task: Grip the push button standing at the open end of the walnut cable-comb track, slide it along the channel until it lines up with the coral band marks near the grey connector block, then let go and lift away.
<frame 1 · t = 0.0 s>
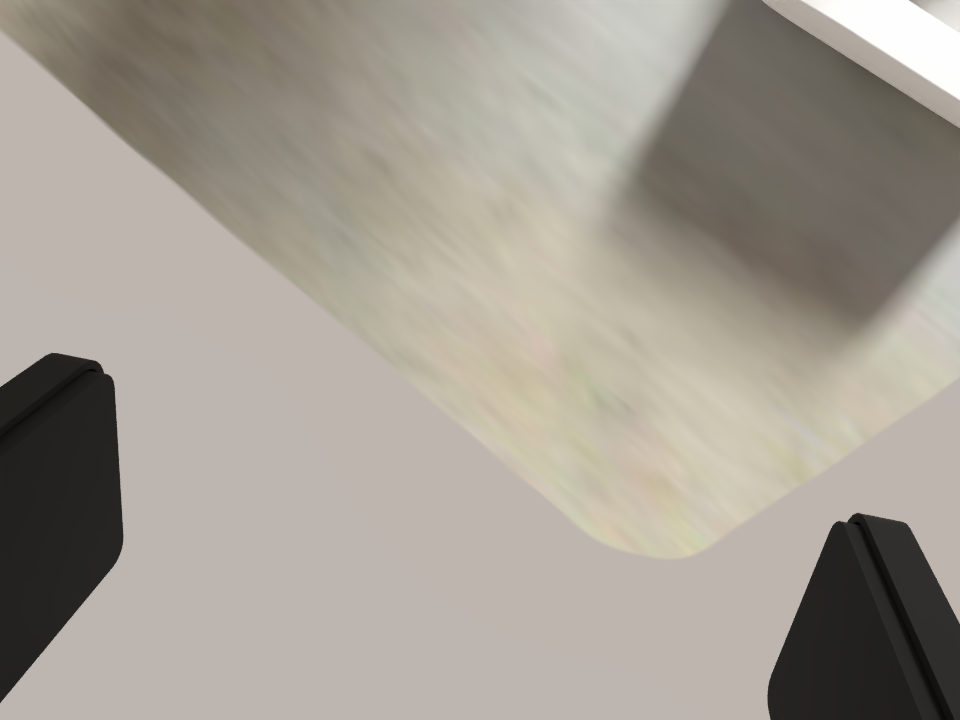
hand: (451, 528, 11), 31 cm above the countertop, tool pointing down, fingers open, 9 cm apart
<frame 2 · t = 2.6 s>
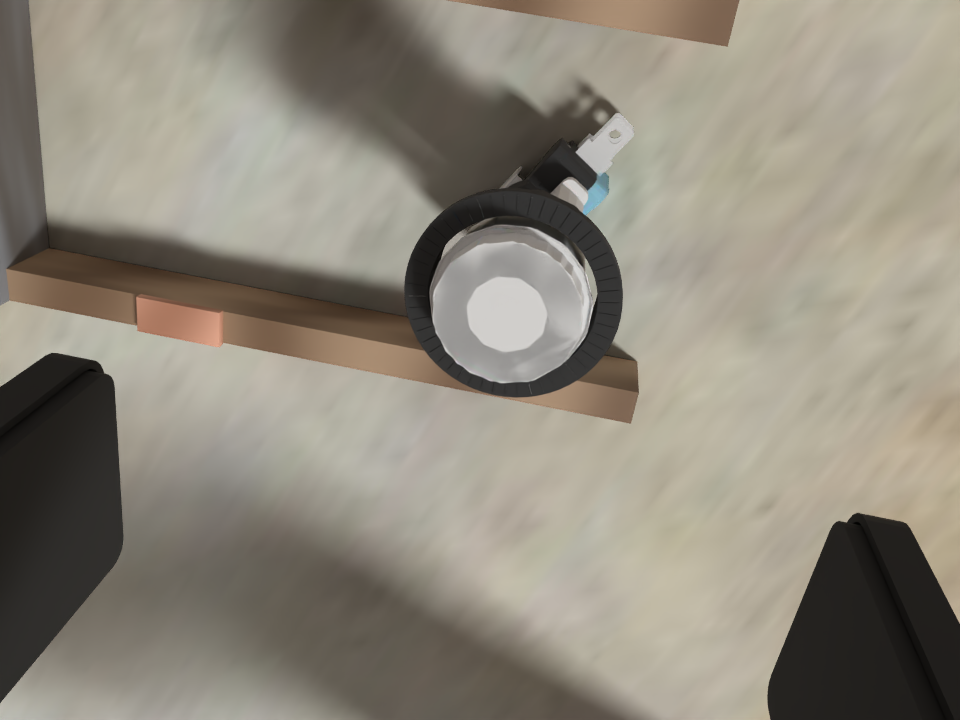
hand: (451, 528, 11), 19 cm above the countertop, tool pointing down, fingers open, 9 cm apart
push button: (555, 191, 29), on the countertop
comb track: (318, 150, 29), on the countertop
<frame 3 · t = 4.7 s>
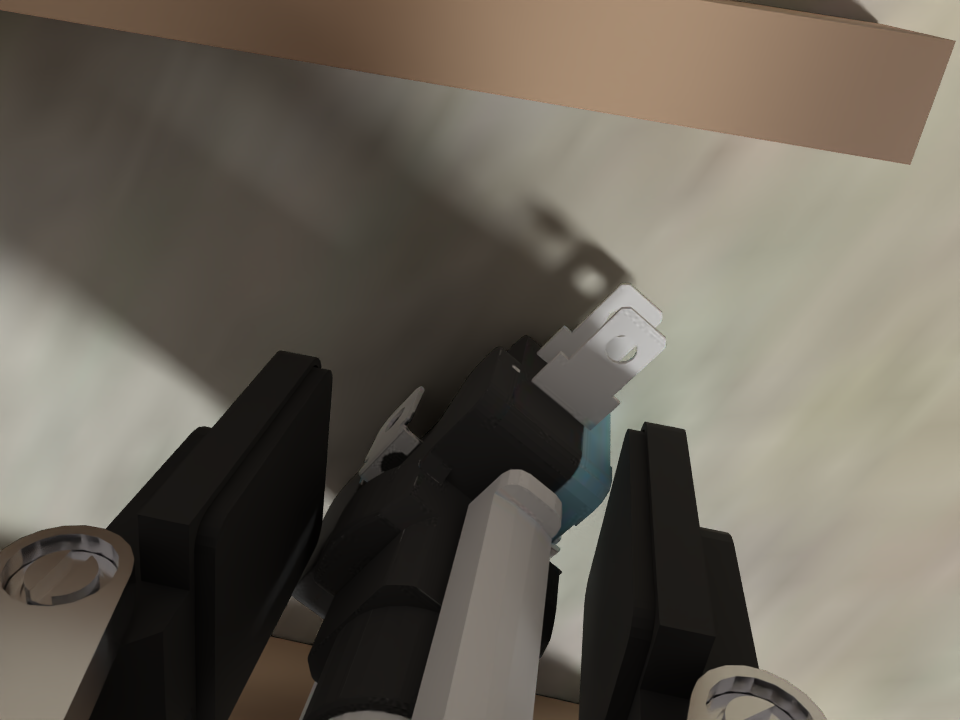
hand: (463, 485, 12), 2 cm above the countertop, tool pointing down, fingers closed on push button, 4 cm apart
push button: (501, 425, 14), on the countertop, touching gripper
comb track: (1, 331, 14), on the countertop
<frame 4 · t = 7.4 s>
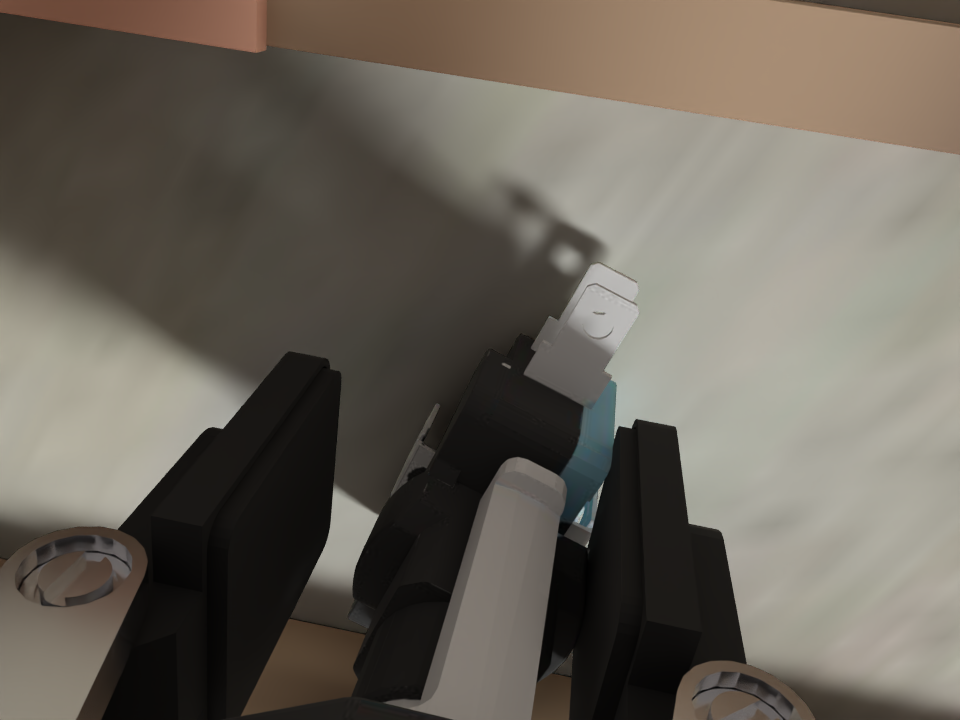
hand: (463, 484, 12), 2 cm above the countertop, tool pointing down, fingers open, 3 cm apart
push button: (524, 424, 14), on the countertop, touching gripper
comb track: (447, 400, 14), on the countertop
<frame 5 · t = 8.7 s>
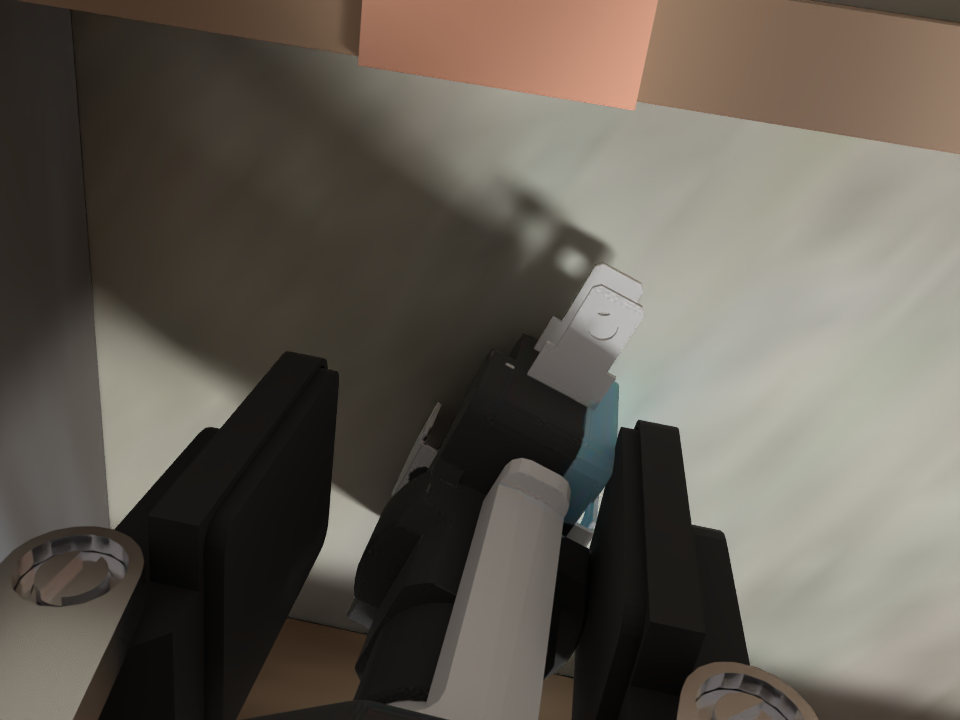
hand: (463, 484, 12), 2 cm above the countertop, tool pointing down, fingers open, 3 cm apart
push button: (525, 424, 14), on the countertop, touching gripper
comb track: (696, 447, 14), on the countertop
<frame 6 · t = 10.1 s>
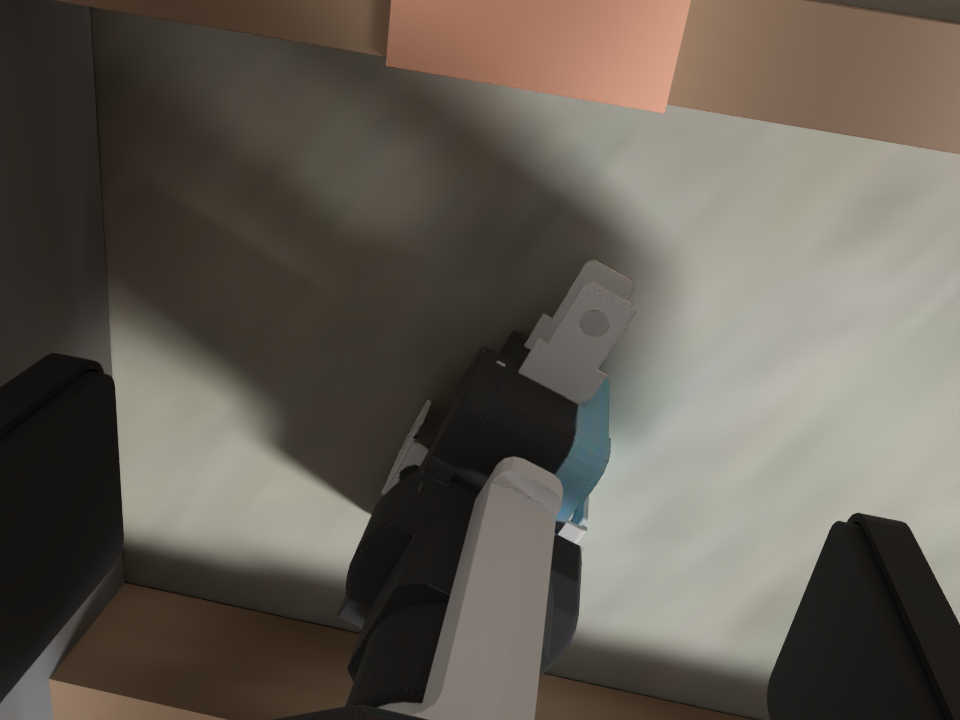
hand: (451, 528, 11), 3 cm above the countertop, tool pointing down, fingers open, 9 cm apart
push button: (515, 421, 14), on the countertop
comb track: (714, 452, 14), on the countertop
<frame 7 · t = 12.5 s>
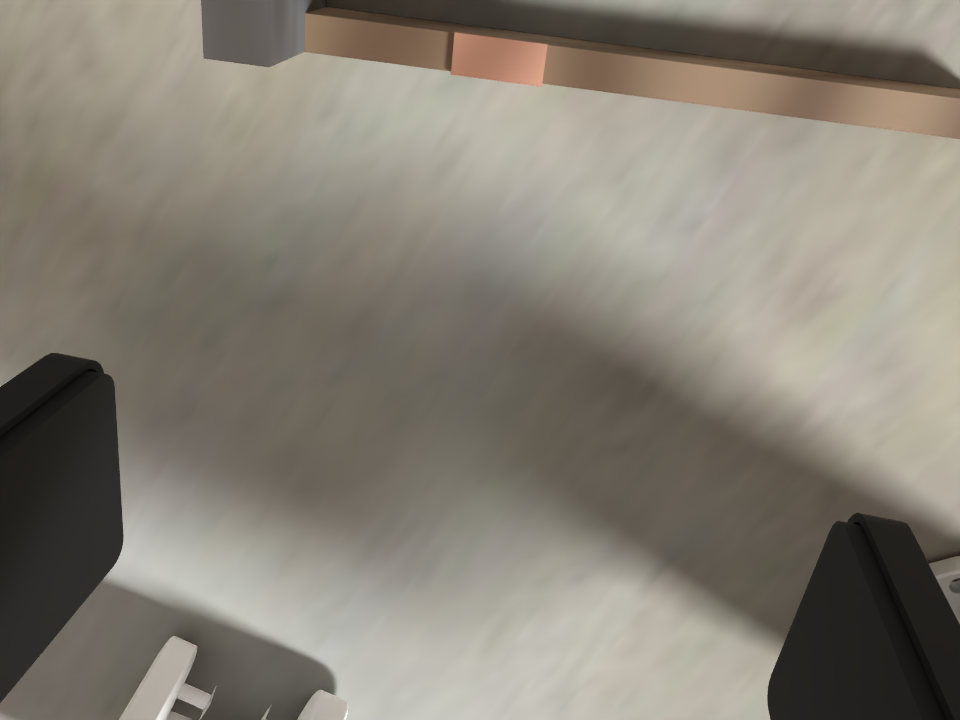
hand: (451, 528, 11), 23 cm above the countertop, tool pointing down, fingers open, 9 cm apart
cable organizer: (235, 719, 48), on the countertop
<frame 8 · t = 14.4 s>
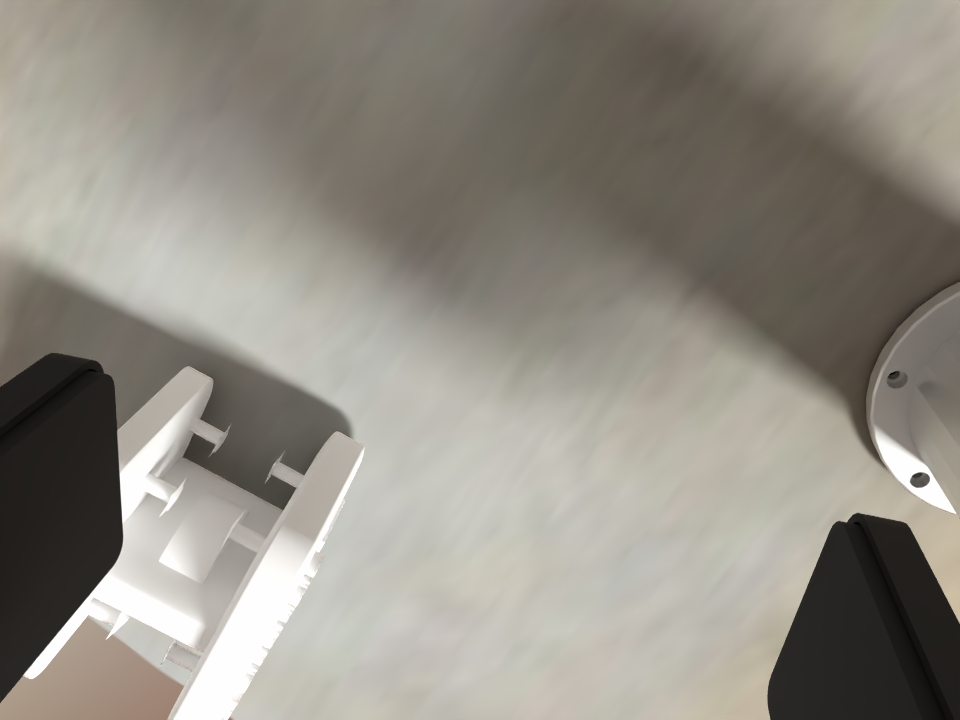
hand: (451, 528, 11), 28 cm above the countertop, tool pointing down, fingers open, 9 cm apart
cable organizer: (246, 482, 47), on the countertop
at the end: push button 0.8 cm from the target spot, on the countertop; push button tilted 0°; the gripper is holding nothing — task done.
